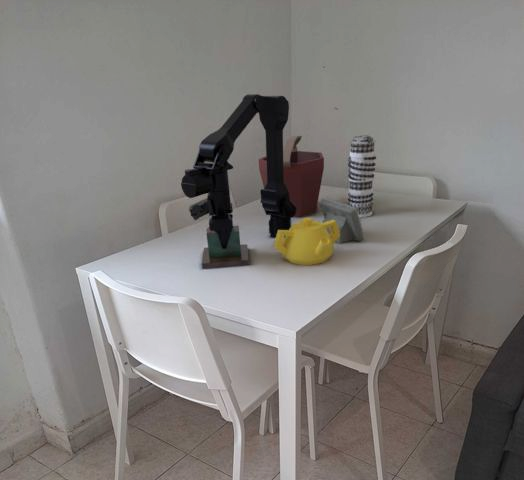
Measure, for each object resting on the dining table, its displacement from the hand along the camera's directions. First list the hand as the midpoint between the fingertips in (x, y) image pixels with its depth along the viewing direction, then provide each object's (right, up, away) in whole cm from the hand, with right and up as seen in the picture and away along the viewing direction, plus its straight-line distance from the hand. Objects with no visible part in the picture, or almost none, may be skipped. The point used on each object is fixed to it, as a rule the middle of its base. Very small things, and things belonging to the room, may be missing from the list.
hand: (224, 245), depth 141 cm
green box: (0, -2, +1) cm, 2 cm away
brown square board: (0, -3, +2) cm, 4 cm away
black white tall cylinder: (+45, +17, +31) cm, 57 cm away
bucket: (+23, +21, +39) cm, 50 cm away
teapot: (+24, -5, -3) cm, 25 cm away
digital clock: (+35, +5, +12) cm, 38 cm away
